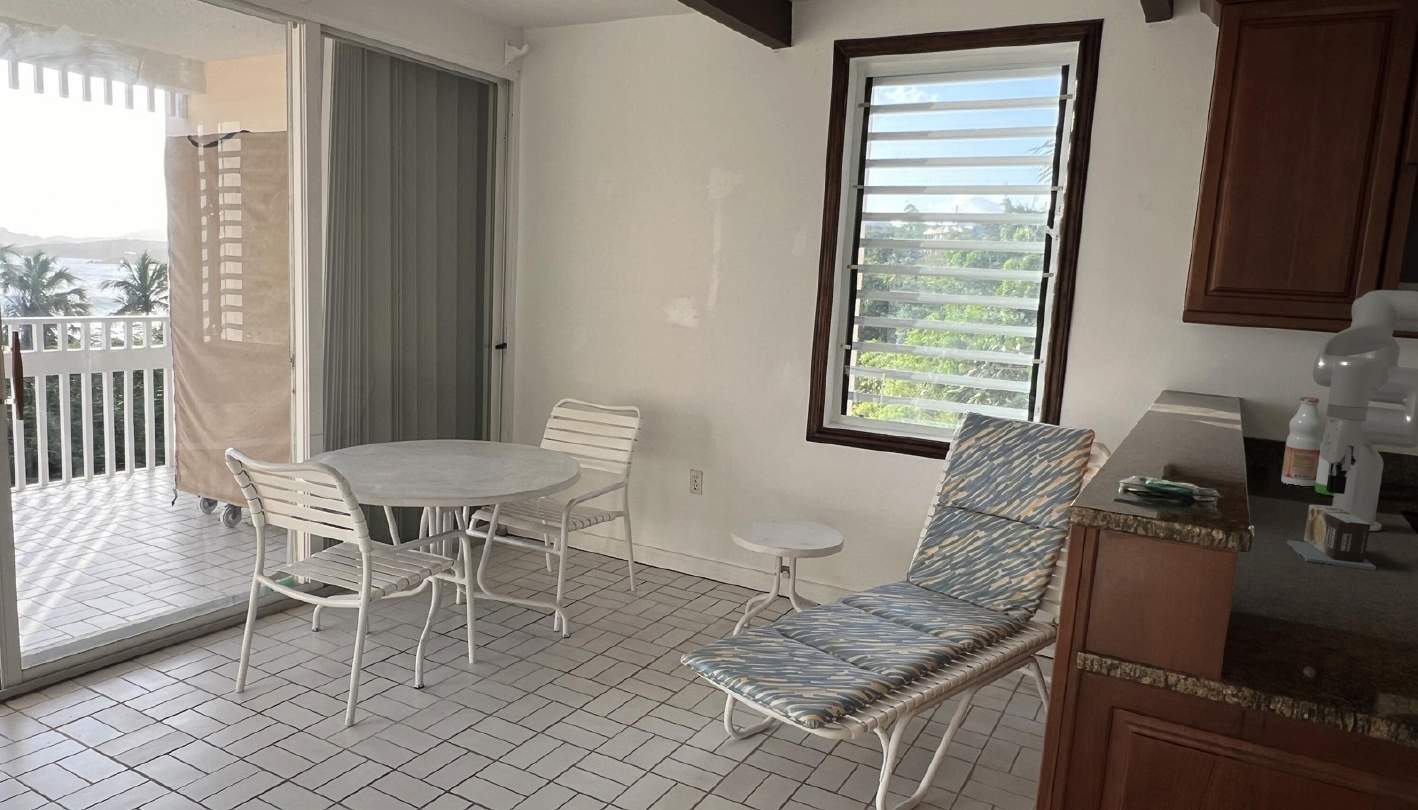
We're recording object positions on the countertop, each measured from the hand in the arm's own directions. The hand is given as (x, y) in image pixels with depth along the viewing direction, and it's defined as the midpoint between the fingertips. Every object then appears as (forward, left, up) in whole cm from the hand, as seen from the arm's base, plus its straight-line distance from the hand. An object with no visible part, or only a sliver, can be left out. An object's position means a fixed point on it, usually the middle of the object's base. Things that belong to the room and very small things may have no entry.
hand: (1335, 492), depth 208 cm
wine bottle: (-78, +23, -15) cm, 83 cm away
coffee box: (-8, 0, -9) cm, 12 cm away
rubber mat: (+2, 0, -15) cm, 15 cm away
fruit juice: (-91, +18, -15) cm, 94 cm away
